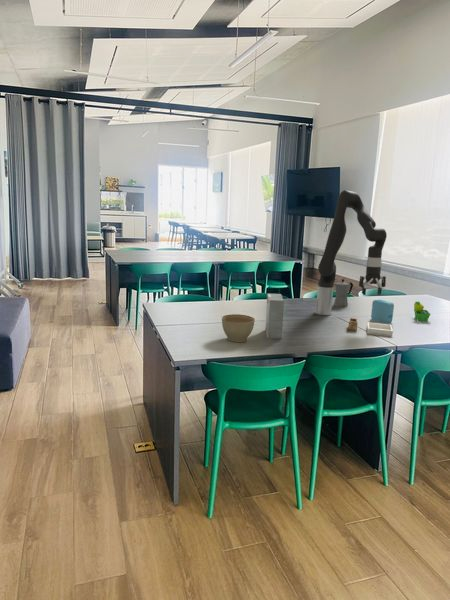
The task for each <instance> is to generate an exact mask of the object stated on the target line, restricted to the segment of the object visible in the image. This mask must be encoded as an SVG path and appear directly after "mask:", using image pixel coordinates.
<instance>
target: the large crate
mask: <svg viewBox="0 0 450 600" xmlns="http://www.w3.org/2000/svg"><path fill="white" fill-rule="evenodd" d="M366 333H367V335H373V336H374V335H375V336H385V337H393V333H394V330H393V325H392V324H390V323H381V322H380V323H378V322H369V321H367V323H366Z"/></svg>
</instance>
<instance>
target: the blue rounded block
mask: <svg viewBox="0 0 450 600" xmlns="http://www.w3.org/2000/svg"><path fill="white" fill-rule="evenodd" d="M394 308H395V303H393V302H391V301H386V300H384V299H374V300H372V304H371V313H370V314H371V315H370V319H371V320H373V321H376V322H380V323H381V324H390V323H392V322H393V319H394Z"/></svg>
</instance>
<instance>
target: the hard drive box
mask: <svg viewBox="0 0 450 600" xmlns="http://www.w3.org/2000/svg"><path fill="white" fill-rule="evenodd" d="M284 307H285V300H284V298H283V295H282V294H281V293H267V294H266V313H265V314H266V315H265V333H266V337H267V339H276V340H277V339H280V340H281V339H283V327H284V325H283V323H284Z"/></svg>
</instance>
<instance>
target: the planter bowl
mask: <svg viewBox="0 0 450 600" xmlns="http://www.w3.org/2000/svg"><path fill="white" fill-rule="evenodd" d="M255 320H256V319H255V317H253V316H250V315H246V314H240V313H239V314H238V313H237V314H235V313H234V314H232V313H231V314H224V315H222V316H221V325H222V329H223V332H224V334H225V336H226V338H227V340H228V341H230V342H233V343H234V342H235V343H243V342H246V341H247V340H248V338H249V336H250V335H251V334H252V332H253V329H254V326H255Z"/></svg>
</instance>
